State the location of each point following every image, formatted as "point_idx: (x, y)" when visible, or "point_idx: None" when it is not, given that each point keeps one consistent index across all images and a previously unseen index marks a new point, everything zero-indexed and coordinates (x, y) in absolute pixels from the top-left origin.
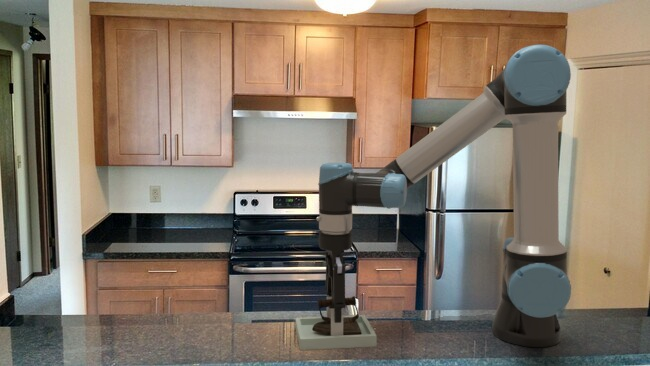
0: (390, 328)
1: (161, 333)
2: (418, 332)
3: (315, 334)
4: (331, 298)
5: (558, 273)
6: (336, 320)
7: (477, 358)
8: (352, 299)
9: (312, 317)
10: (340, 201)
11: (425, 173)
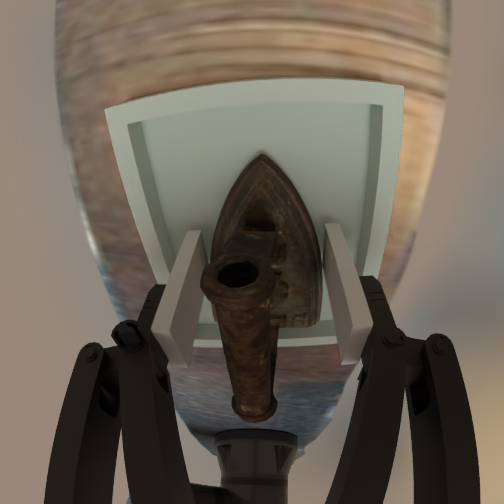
0: (311, 356)
1: None
2: (278, 385)
3: (245, 162)
4: (345, 337)
5: None
6: (149, 298)
7: None
8: (239, 409)
9: (393, 171)
10: None
11: None
